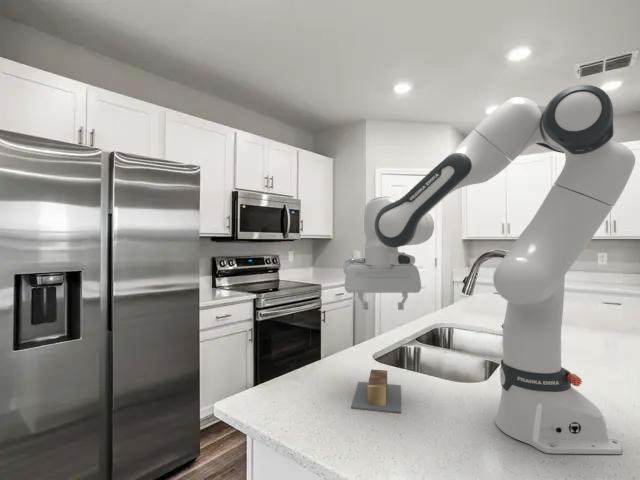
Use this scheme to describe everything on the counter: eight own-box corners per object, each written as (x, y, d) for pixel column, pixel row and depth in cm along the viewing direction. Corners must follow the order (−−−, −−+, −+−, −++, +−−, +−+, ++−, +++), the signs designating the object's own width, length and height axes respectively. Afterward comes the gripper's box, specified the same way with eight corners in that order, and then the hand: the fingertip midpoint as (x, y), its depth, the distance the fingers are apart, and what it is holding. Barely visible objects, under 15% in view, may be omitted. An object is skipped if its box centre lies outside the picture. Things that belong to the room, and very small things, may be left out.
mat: (400, 386, 102) (400, 385, 102) (400, 413, 86) (400, 411, 86) (358, 383, 104) (358, 381, 104) (351, 408, 89) (351, 406, 89)
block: (387, 370, 101) (385, 387, 89) (387, 386, 101) (385, 406, 89) (371, 369, 102) (367, 386, 90) (371, 385, 102) (367, 404, 90)
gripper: (341, 259, 96) (343, 311, 96) (420, 257, 92) (422, 311, 91) (344, 258, 102) (346, 307, 102) (419, 256, 98) (421, 307, 98)
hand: (383, 309), depth 97 cm, fingers open, 8 cm apart
